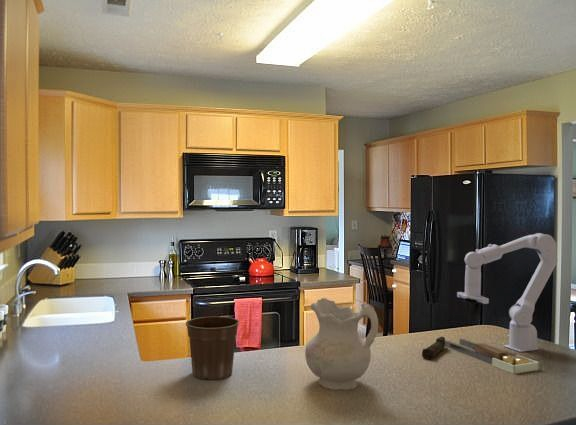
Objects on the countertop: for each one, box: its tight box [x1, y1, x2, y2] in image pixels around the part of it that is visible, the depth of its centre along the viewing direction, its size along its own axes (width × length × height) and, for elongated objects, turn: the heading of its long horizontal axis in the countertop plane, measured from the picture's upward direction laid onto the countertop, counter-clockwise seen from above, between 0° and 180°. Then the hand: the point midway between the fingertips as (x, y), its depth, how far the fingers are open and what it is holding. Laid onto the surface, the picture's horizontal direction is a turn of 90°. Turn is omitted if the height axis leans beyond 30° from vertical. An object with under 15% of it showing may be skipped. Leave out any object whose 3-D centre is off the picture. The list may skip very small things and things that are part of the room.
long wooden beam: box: [474, 342, 509, 361], centre depth 181 cm, size 4×12×4 cm, turn 18°
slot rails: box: [445, 338, 493, 365], centre depth 188 cm, size 9×24×2 cm, turn 24°
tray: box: [491, 354, 540, 375], centre depth 172 cm, size 11×9×2 cm
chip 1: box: [502, 354, 516, 365], centre depth 174 cm, size 4×4×3 cm
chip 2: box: [515, 356, 528, 365], centre depth 171 cm, size 4×4×3 cm
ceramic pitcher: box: [304, 297, 379, 391], centre depth 153 cm, size 22×20×25 cm
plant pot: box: [185, 316, 240, 381], centre depth 159 cm, size 16×16×16 cm
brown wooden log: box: [421, 336, 446, 361], centre depth 186 cm, size 19×4×5 cm, turn 144°
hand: (471, 319), depth 198 cm, fingers closed
